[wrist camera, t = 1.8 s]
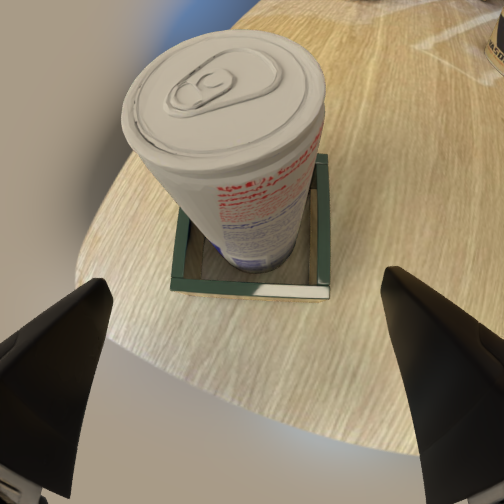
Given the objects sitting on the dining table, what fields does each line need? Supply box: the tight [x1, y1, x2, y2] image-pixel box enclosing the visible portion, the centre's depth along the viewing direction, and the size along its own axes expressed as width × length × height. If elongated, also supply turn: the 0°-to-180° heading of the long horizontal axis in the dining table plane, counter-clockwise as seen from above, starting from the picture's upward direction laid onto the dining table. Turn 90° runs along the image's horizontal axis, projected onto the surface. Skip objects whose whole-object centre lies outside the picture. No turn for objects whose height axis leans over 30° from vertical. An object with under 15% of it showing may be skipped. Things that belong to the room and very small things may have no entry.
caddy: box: [170, 153, 331, 303], centre depth 19 cm, size 9×9×4 cm
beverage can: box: [121, 29, 326, 273], centre depth 14 cm, size 6×6×15 cm
